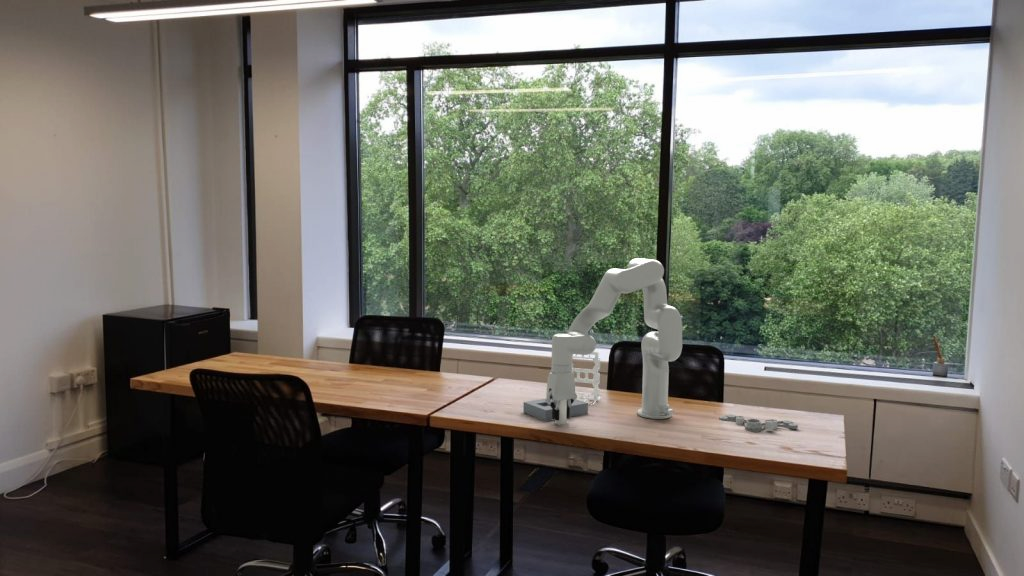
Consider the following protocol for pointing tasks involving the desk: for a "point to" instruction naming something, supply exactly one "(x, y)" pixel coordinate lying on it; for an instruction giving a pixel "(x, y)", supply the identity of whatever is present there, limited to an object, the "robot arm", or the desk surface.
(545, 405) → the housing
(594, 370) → the white plastic rack
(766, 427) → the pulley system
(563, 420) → the peg cream
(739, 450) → the desk surface
